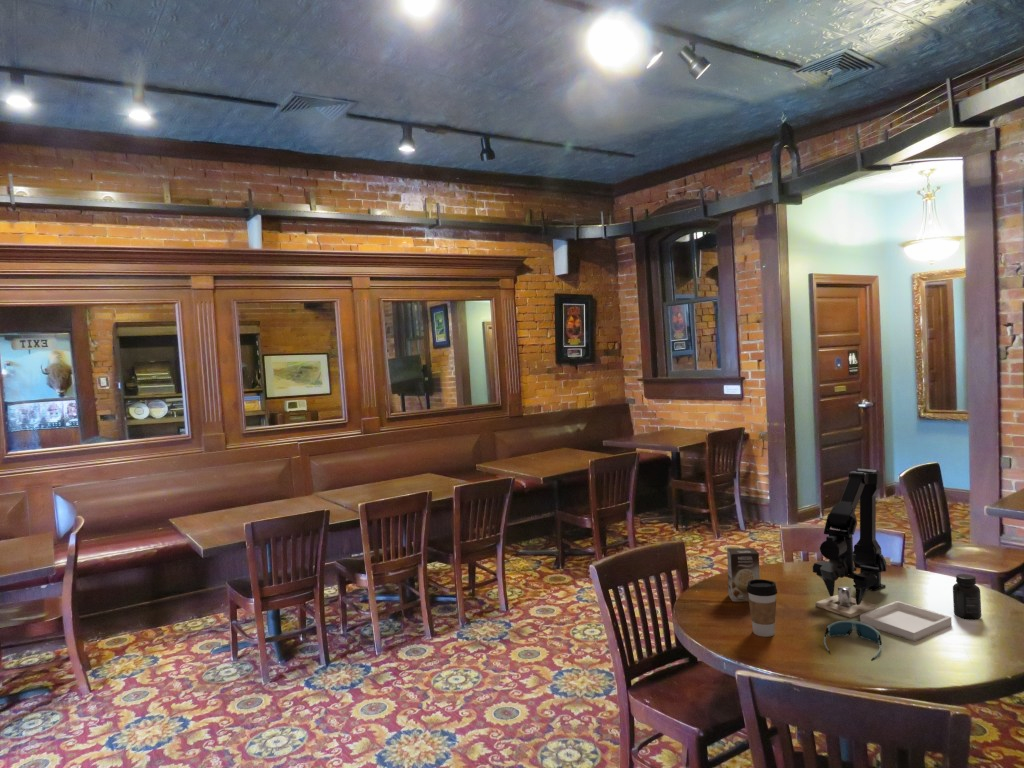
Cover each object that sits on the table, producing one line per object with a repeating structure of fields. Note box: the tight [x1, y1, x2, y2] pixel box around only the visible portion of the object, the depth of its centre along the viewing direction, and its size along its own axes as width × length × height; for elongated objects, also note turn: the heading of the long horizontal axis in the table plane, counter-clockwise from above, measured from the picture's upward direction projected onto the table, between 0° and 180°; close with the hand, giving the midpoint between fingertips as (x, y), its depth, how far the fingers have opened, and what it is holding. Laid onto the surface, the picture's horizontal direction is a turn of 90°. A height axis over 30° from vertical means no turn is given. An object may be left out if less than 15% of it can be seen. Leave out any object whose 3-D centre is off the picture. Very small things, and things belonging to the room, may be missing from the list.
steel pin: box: [837, 586, 852, 608], centre depth 214 cm, size 4×4×6 cm
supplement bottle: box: [952, 573, 982, 621], centre depth 202 cm, size 7×7×12 cm
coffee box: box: [726, 547, 761, 602], centre depth 226 cm, size 9×6×16 cm
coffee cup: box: [747, 578, 778, 638], centre depth 199 cm, size 8×8×15 cm
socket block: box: [815, 594, 876, 619], centre depth 214 cm, size 12×12×1 cm
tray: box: [859, 600, 953, 642], centre depth 199 cm, size 18×16×2 cm
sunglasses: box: [823, 619, 883, 661], centre depth 188 cm, size 14×15×5 cm
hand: (844, 600), depth 214 cm, fingers open, 9 cm apart
